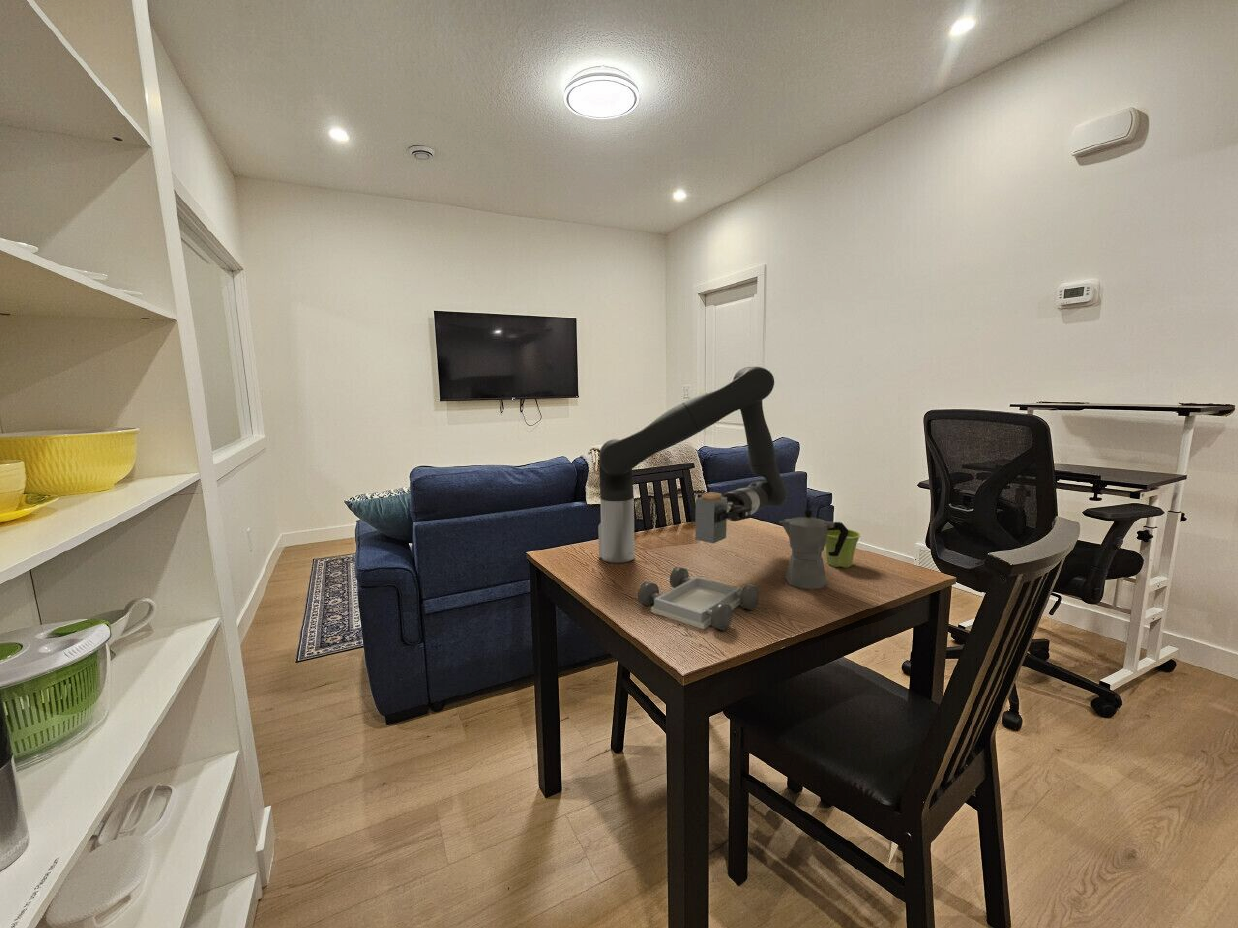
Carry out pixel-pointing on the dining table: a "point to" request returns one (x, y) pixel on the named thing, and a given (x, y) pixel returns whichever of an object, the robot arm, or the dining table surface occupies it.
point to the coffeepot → (810, 549)
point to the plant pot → (846, 550)
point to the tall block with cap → (710, 518)
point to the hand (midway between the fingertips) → (705, 516)
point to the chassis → (698, 600)
